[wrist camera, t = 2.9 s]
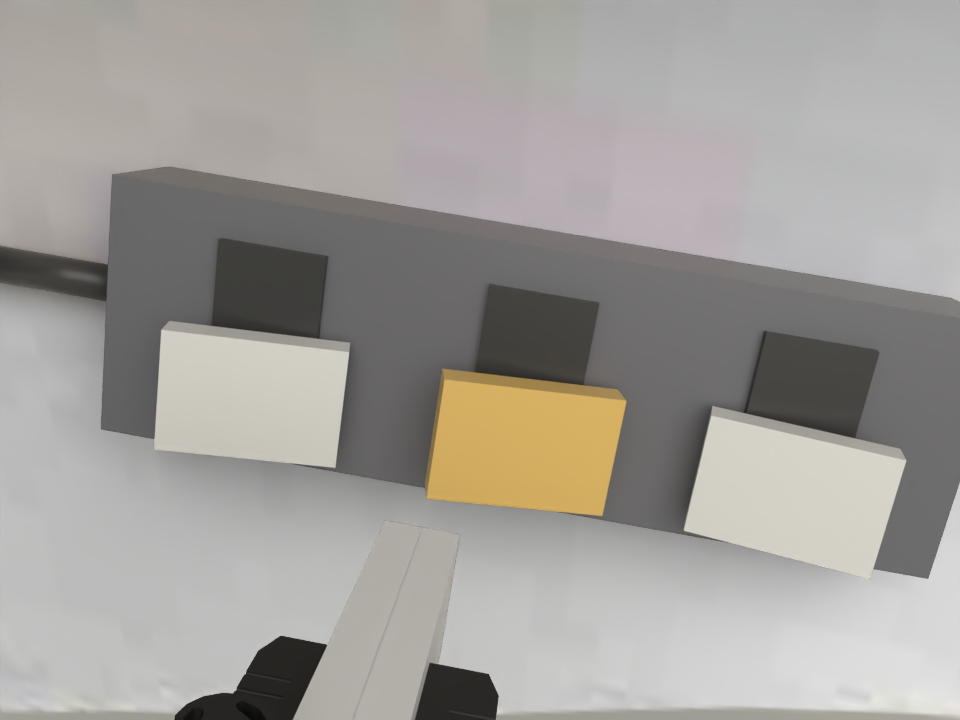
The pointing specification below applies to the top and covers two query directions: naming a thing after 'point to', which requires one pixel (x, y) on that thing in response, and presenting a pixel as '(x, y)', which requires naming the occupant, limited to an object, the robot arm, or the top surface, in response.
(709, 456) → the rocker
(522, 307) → the power strip
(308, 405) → the white box
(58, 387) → the top surface
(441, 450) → the yellow box
